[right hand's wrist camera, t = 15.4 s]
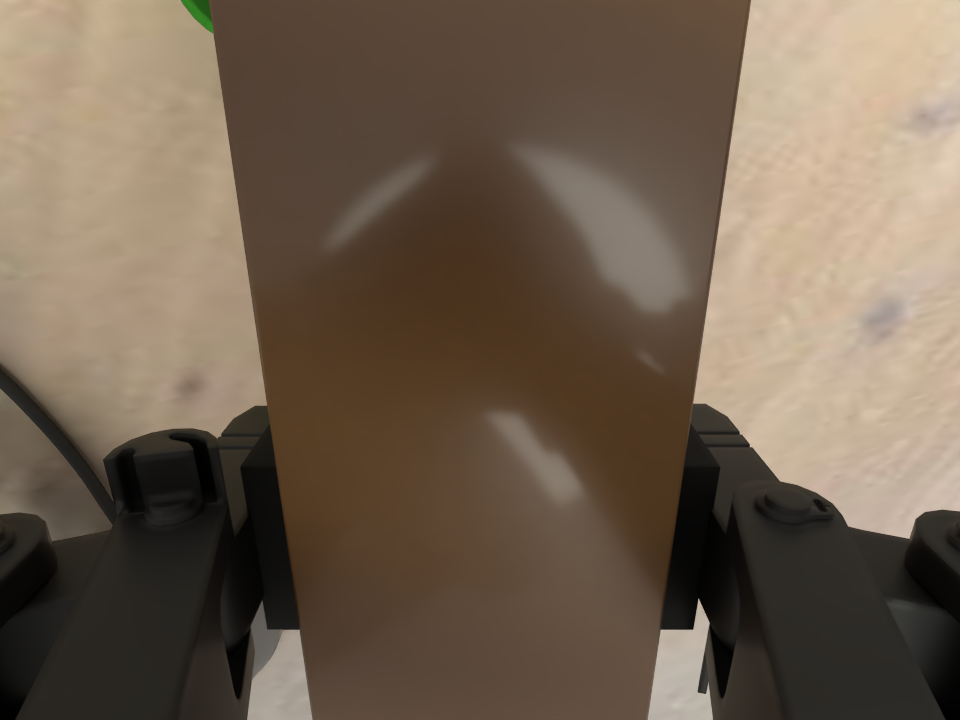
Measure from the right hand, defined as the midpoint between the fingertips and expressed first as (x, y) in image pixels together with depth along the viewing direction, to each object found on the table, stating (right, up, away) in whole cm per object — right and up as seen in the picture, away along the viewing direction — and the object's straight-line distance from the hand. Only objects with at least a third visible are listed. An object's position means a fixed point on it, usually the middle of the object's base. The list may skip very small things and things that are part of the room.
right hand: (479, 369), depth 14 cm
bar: (0, -26, +11) cm, 28 cm away
